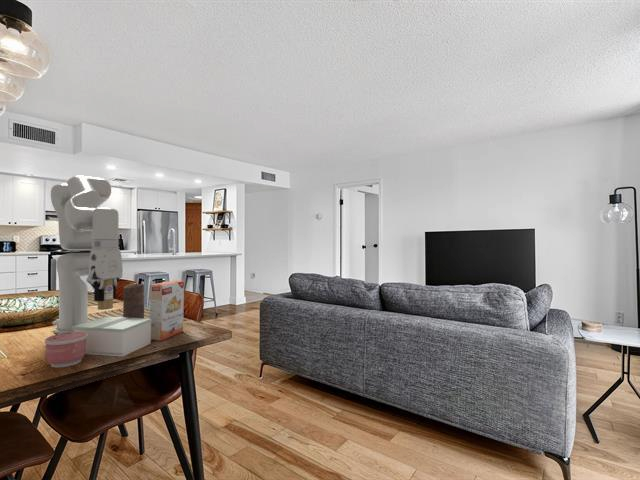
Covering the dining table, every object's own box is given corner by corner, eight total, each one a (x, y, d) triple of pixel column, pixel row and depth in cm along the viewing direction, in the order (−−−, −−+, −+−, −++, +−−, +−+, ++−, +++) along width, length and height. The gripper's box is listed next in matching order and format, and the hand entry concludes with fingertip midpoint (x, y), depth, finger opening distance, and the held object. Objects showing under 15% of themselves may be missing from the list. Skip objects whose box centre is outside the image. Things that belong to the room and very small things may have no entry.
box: (73, 353, 114) (73, 329, 114) (106, 340, 128) (106, 319, 127) (122, 356, 111) (122, 331, 111) (150, 343, 125) (150, 321, 125)
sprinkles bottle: (106, 310, 113) (106, 269, 112) (93, 309, 113) (94, 269, 113) (116, 307, 117) (116, 268, 117) (104, 307, 118) (104, 267, 118)
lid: (72, 329, 113) (72, 326, 113) (106, 318, 128) (106, 316, 128) (122, 332, 110) (122, 329, 110) (151, 321, 125) (151, 318, 125)
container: (81, 354, 113) (81, 330, 113) (91, 362, 106) (91, 336, 106) (41, 363, 105) (41, 336, 105) (49, 372, 98) (49, 344, 98)
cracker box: (162, 341, 127) (162, 285, 127) (147, 340, 128) (148, 284, 128) (184, 331, 141) (184, 280, 141) (171, 330, 142) (171, 280, 142)
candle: (140, 337, 131) (140, 285, 131) (119, 338, 130) (119, 285, 130) (146, 332, 139) (147, 283, 139) (127, 333, 138) (127, 283, 138)
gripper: (95, 245, 106) (94, 304, 106) (133, 244, 123) (132, 295, 123) (73, 245, 107) (73, 304, 107) (114, 244, 124) (114, 295, 124)
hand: (105, 299), depth 115 cm, fingers closed on sprinkles bottle, 4 cm apart
